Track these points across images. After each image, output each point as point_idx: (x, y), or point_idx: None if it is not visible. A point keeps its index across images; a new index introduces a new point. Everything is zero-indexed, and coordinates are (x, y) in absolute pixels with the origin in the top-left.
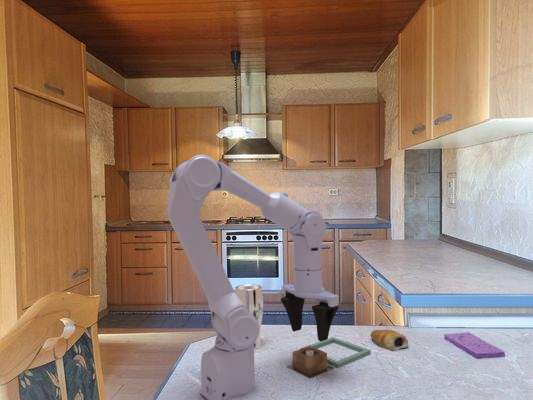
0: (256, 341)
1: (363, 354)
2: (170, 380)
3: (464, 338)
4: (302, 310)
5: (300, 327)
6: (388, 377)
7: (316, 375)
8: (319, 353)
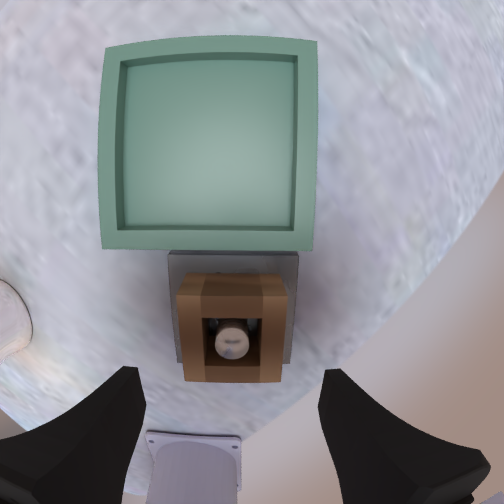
0: (9, 332)
1: (316, 86)
2: None
3: None
4: (91, 425)
5: (134, 378)
6: (421, 142)
7: (291, 339)
8: (268, 322)
